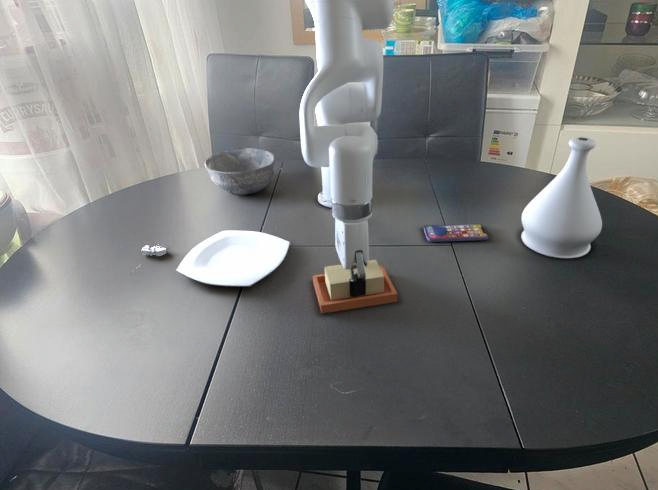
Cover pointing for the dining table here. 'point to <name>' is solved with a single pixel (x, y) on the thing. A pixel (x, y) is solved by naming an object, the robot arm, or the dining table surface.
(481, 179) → the dining table surface
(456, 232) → the smartphone
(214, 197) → the dining table surface
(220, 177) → the bowl
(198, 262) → the plate
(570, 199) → the vase
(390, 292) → the shallow tray
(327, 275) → the foam pad
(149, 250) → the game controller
